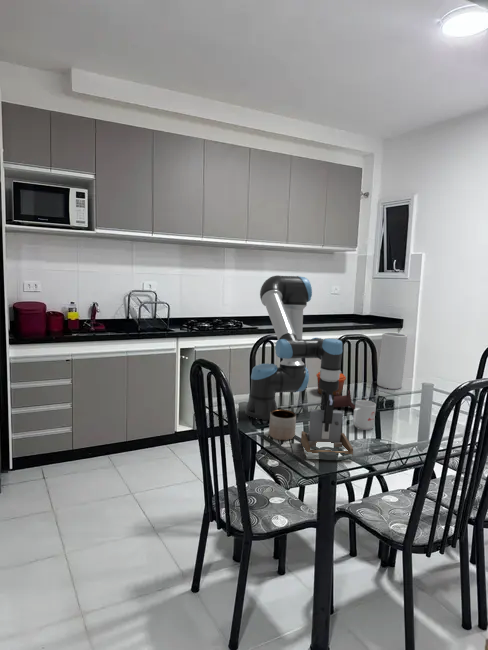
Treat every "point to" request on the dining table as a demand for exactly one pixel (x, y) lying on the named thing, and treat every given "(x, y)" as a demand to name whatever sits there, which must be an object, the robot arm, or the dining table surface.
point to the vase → (392, 360)
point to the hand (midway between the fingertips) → (324, 436)
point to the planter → (282, 424)
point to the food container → (341, 383)
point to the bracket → (343, 400)
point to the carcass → (343, 441)
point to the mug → (364, 414)
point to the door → (317, 425)
